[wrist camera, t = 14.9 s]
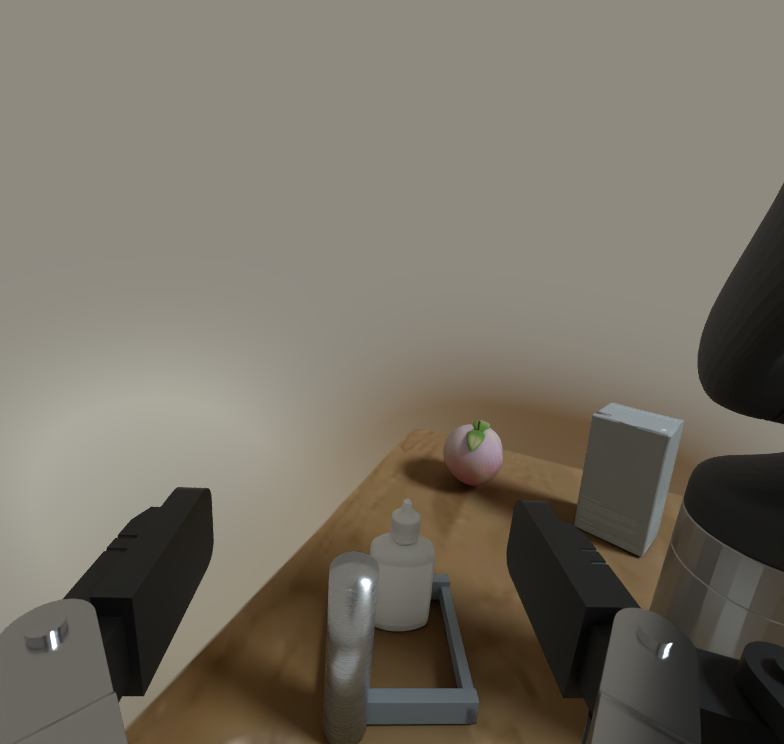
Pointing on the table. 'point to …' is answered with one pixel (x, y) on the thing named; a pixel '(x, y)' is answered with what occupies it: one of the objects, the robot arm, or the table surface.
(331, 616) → the pull frame
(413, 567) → the eye dropper bottle
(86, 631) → the robot arm
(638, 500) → the skincare box
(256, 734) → the table surface
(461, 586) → the table surface
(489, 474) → the decorative fruit
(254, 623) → the table surface
